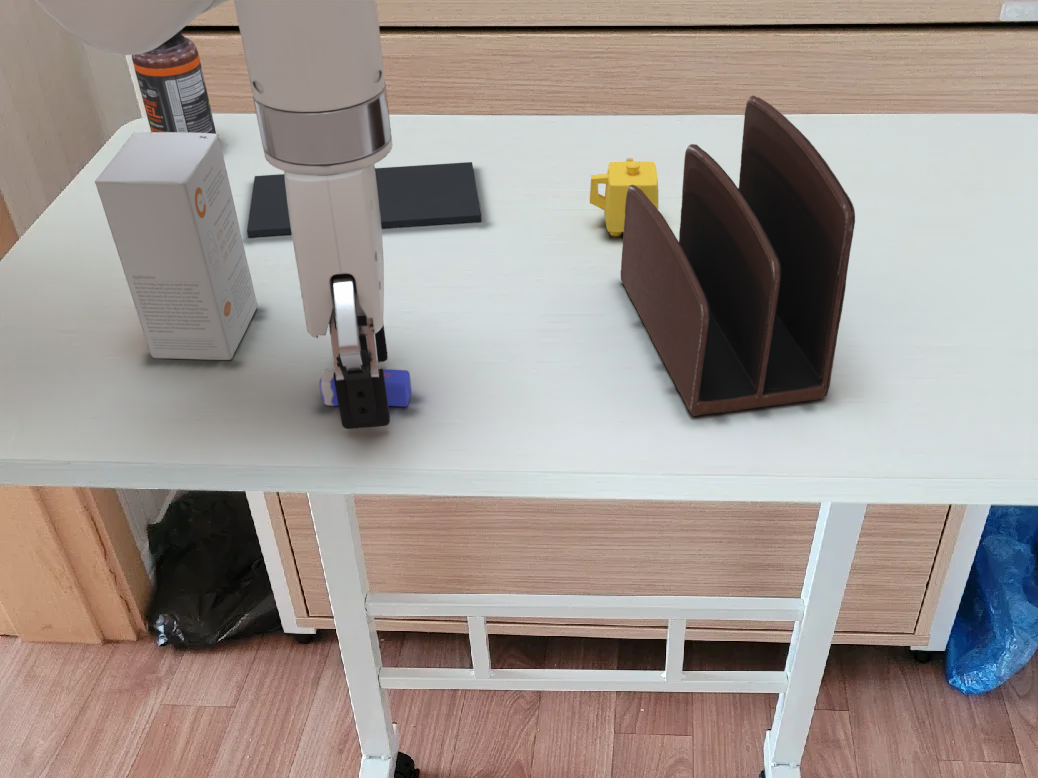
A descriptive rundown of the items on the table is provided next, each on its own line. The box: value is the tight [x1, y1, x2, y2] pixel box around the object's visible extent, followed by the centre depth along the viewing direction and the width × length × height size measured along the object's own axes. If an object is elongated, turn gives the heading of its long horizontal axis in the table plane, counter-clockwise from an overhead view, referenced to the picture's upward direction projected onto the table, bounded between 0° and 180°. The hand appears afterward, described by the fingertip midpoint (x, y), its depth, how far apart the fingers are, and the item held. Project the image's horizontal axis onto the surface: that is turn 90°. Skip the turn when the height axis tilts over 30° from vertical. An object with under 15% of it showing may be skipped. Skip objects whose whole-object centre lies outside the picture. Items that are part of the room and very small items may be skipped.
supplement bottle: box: [131, 28, 217, 134], centre depth 103 cm, size 6×6×11 cm
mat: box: [246, 161, 482, 238], centre depth 99 cm, size 20×11×1 cm, turn 96°
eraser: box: [318, 368, 412, 407], centre depth 77 cm, size 2×6×2 cm, turn 85°
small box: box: [94, 131, 259, 361], centre depth 80 cm, size 8×6×13 cm
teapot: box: [589, 157, 659, 237], centre depth 93 cm, size 8×6×5 cm
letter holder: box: [620, 95, 856, 417], centre depth 77 cm, size 10×20×14 cm, turn 12°
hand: (366, 390), depth 77 cm, fingers open, 7 cm apart
